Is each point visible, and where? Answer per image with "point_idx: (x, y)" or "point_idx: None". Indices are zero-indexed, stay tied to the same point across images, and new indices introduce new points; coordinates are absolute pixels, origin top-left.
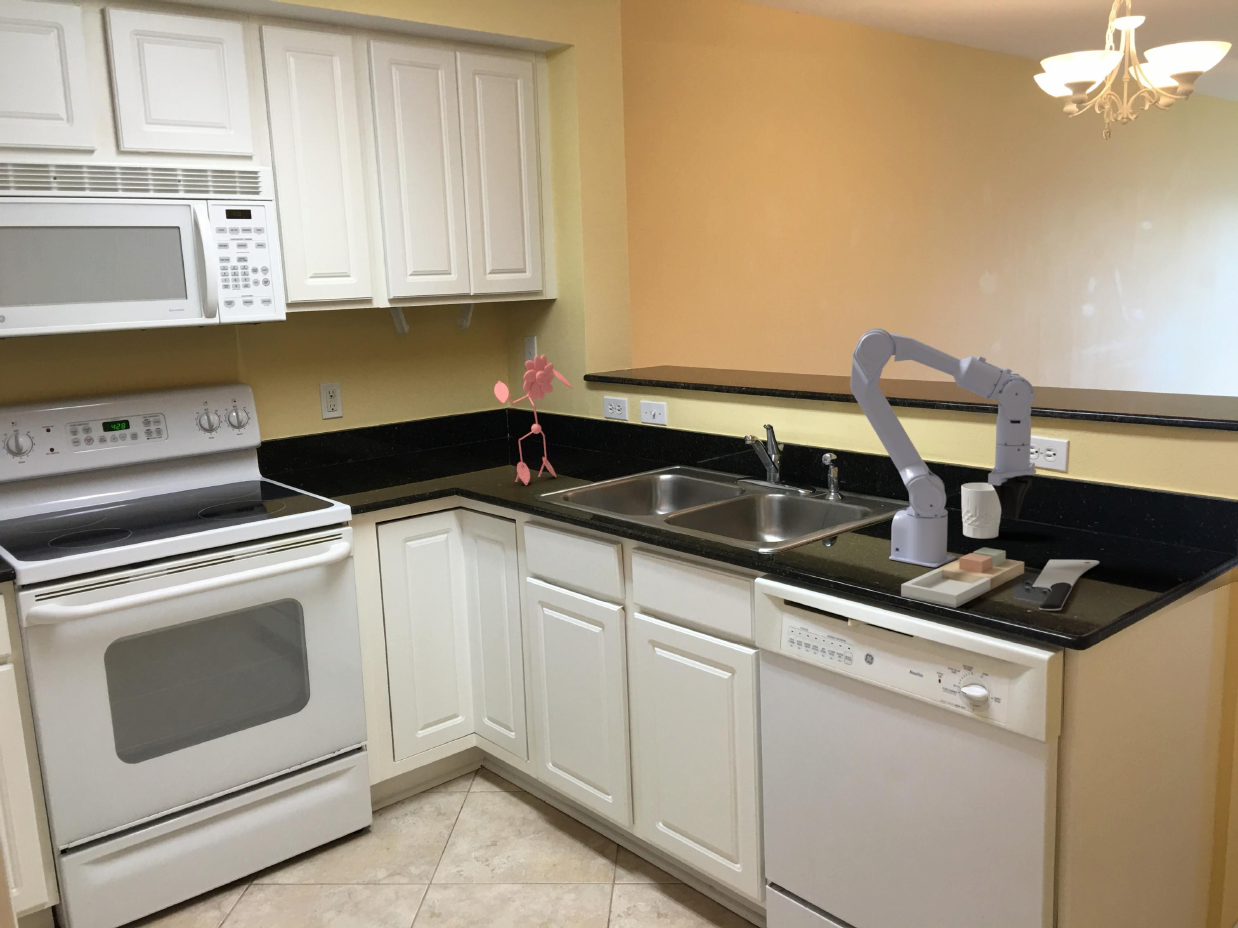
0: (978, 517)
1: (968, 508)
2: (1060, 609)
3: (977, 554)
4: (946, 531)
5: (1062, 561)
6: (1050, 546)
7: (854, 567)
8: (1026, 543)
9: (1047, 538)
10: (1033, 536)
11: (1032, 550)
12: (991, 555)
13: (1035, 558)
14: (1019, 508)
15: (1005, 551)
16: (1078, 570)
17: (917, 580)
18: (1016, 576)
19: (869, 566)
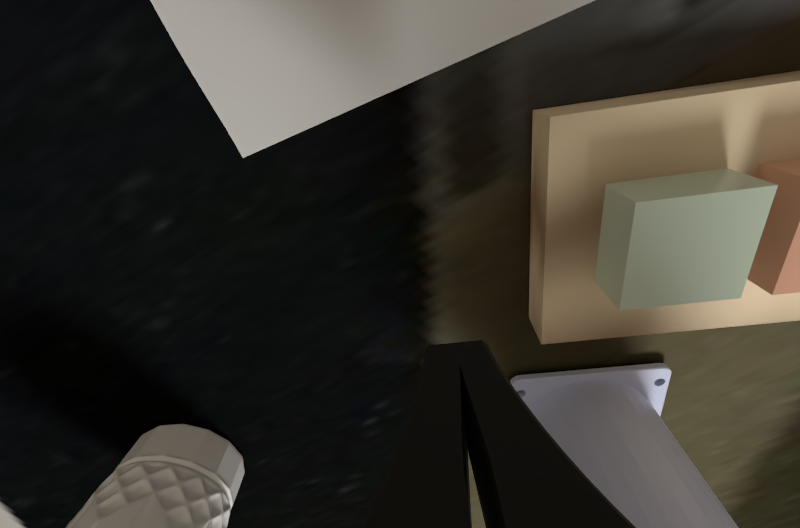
0: (204, 518)
1: None
2: None
3: (789, 259)
4: (623, 482)
5: (238, 82)
6: (82, 262)
7: (764, 484)
8: (137, 335)
9: (12, 324)
10: (44, 364)
11: (192, 276)
12: (768, 205)
13: (279, 207)
14: (447, 398)
15: (637, 200)
16: None
17: None
18: (616, 98)
19: (733, 469)
